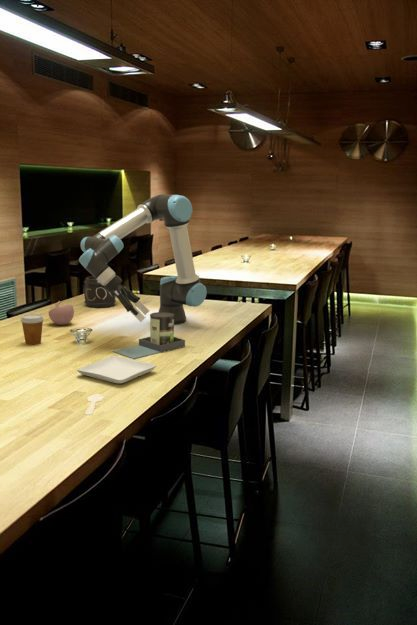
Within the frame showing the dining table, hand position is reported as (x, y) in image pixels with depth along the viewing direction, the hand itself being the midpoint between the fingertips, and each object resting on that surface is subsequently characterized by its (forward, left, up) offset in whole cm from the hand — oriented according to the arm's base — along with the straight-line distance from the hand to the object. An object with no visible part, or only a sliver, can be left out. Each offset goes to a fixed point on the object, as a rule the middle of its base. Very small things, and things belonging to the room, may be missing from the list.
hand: (145, 316), depth 256 cm
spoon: (+56, +42, -14) cm, 71 cm away
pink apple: (+5, -57, -13) cm, 59 cm away
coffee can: (-5, +5, -13) cm, 15 cm away
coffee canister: (-37, -83, -13) cm, 92 cm away
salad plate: (+32, +23, -14) cm, 42 cm away
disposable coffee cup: (+33, -35, -13) cm, 50 cm away
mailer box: (+2, +5, -13) cm, 14 cm away
